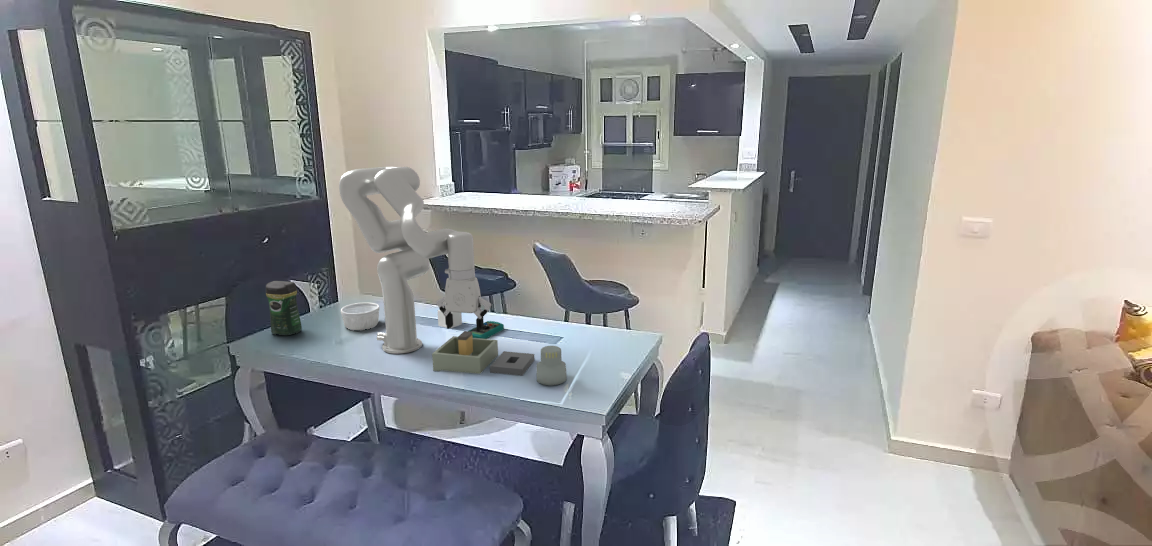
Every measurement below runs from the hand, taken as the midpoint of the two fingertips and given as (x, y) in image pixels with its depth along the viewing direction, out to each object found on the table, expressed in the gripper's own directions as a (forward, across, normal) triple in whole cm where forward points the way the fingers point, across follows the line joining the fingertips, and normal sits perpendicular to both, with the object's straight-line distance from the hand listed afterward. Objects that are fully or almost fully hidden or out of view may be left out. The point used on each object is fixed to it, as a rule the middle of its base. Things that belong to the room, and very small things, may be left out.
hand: (464, 328), depth 184 cm
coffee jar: (+11, -73, +12) cm, 75 cm away
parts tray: (+11, 0, 0) cm, 11 cm away
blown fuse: (+11, 0, 0) cm, 11 cm away
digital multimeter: (+12, -4, +26) cm, 29 cm away
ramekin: (+12, -51, +24) cm, 58 cm away
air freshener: (+12, +29, -7) cm, 32 cm away
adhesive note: (+12, -20, +32) cm, 39 cm away
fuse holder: (+11, +15, 0) cm, 19 cm away
